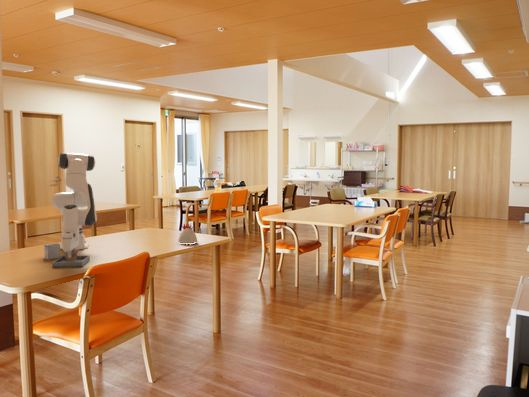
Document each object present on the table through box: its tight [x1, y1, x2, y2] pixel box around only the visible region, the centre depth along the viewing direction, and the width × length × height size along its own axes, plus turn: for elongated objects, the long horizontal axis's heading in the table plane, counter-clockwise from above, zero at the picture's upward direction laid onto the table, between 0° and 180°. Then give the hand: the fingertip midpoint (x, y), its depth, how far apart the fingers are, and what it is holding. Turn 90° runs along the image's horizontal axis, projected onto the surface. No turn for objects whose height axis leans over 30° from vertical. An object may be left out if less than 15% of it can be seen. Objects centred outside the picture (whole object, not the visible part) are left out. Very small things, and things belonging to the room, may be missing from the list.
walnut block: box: [66, 250, 78, 261], centre depth 268 cm, size 5×5×5 cm
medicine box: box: [43, 242, 61, 260], centre depth 283 cm, size 8×4×9 cm, turn 141°
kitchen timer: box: [177, 223, 198, 243], centre depth 337 cm, size 14×14×15 cm
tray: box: [51, 255, 91, 269], centre depth 268 cm, size 18×16×3 cm
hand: (71, 256), depth 268 cm, fingers open, 5 cm apart
